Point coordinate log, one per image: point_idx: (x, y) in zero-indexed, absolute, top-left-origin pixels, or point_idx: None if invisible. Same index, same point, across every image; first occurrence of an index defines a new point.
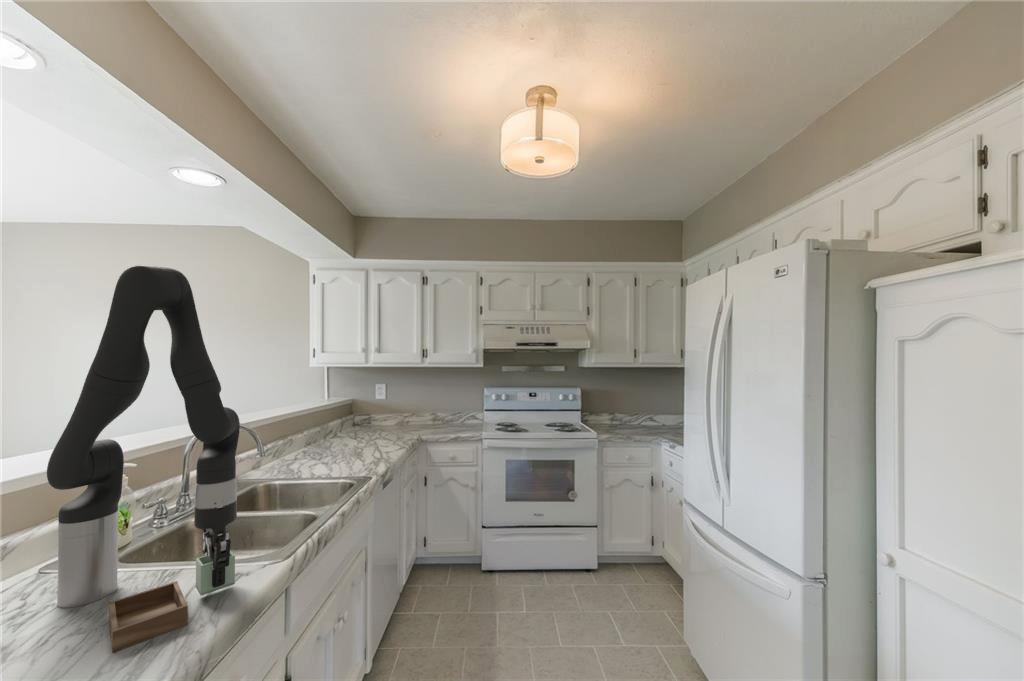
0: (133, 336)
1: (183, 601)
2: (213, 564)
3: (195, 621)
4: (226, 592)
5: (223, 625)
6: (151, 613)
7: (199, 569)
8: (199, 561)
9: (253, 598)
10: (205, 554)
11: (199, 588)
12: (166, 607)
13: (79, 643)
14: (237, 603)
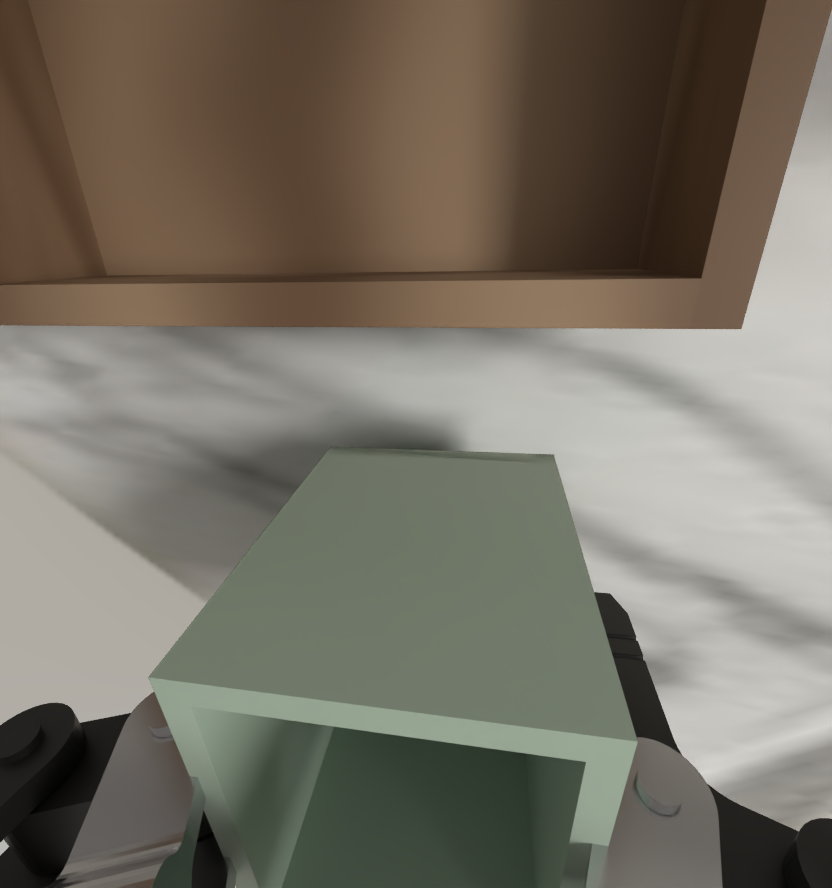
0: None
1: (71, 306)
2: (108, 768)
3: (148, 350)
4: None
5: (20, 453)
6: (439, 41)
7: (314, 608)
8: (385, 722)
9: None
10: (691, 850)
11: (377, 468)
12: (455, 190)
13: None
14: (229, 560)
